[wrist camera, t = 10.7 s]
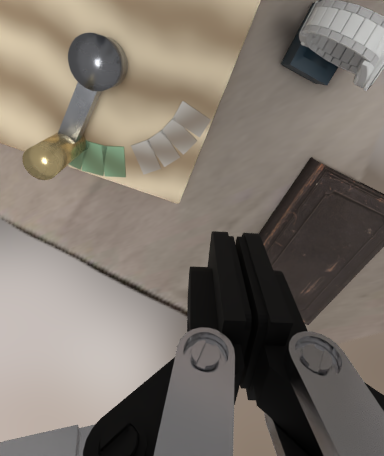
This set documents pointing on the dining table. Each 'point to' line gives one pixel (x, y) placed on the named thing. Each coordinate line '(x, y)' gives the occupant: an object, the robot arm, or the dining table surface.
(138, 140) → the dial board
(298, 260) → the hardcover book
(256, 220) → the dining table surface
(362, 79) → the watch
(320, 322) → the dining table surface
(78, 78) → the lever
